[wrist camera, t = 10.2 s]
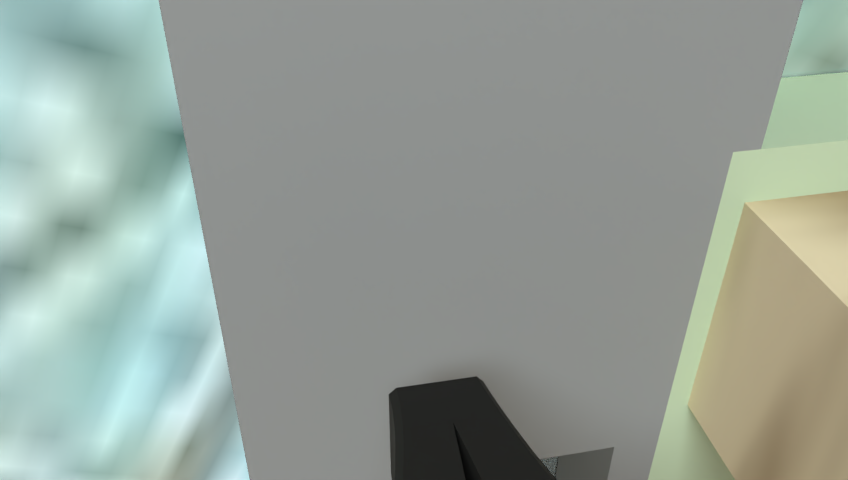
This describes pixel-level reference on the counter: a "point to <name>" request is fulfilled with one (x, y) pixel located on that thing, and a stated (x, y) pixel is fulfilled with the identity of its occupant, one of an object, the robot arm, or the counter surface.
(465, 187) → the grey shallow tray piece
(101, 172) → the counter surface
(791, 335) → the maple block
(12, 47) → the counter surface
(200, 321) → the counter surface
